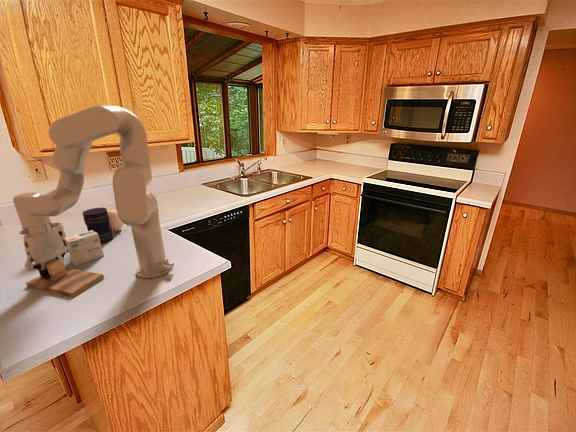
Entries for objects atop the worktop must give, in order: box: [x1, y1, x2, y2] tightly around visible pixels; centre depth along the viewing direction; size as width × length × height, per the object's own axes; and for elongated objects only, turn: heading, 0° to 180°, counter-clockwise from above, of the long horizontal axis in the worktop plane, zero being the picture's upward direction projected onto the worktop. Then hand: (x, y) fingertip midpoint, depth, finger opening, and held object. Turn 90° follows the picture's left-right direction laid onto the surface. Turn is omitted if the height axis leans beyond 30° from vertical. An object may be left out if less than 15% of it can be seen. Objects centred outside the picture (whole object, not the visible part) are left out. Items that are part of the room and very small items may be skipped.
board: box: [25, 266, 105, 298], centre depth 104 cm, size 22×12×2 cm, turn 73°
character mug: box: [51, 221, 67, 247], centre depth 125 cm, size 11×7×13 cm, turn 10°
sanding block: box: [37, 258, 67, 281], centre depth 105 cm, size 7×4×6 cm, turn 73°
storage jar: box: [82, 207, 115, 245], centre depth 136 cm, size 10×10×15 cm
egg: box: [107, 209, 124, 232], centre depth 147 cm, size 8×8×11 cm
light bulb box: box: [63, 230, 105, 266], centre depth 120 cm, size 11×7×11 cm, turn 141°
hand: (53, 274), depth 105 cm, fingers closed on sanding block, 4 cm apart
